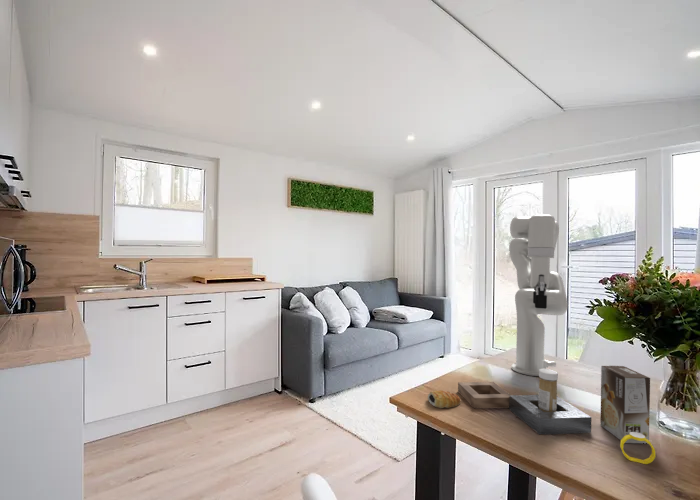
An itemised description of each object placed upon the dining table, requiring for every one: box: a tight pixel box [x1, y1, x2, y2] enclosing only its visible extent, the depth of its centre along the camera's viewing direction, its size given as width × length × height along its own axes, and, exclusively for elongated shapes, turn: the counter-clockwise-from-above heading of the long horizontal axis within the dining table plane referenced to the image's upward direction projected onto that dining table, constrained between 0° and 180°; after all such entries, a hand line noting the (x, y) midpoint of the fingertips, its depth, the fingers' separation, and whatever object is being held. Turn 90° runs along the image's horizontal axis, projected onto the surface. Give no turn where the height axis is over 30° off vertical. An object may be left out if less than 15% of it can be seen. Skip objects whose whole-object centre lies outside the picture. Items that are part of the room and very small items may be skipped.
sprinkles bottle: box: [538, 368, 559, 412], centre depth 97 cm, size 5×5×13 cm
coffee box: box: [599, 365, 651, 445], centre depth 90 cm, size 9×6×16 cm
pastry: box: [427, 389, 461, 409], centre depth 106 cm, size 9×7×4 cm
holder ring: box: [457, 381, 511, 409], centre depth 110 cm, size 12×12×3 cm
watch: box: [619, 432, 657, 465], centre depth 79 cm, size 6×3×6 cm, turn 62°
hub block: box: [508, 394, 593, 435], centre depth 97 cm, size 14×14×4 cm
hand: (539, 305), depth 116 cm, fingers open, 9 cm apart
